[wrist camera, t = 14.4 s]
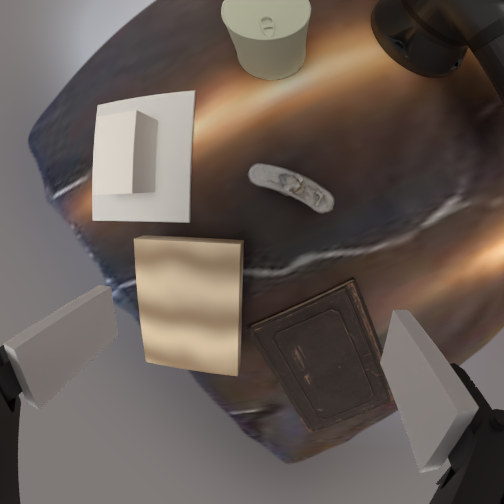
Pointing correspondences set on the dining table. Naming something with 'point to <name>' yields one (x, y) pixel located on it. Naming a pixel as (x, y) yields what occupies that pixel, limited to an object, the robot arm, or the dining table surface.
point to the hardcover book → (325, 357)
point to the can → (268, 35)
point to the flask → (292, 186)
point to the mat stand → (144, 159)
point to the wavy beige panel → (191, 301)
